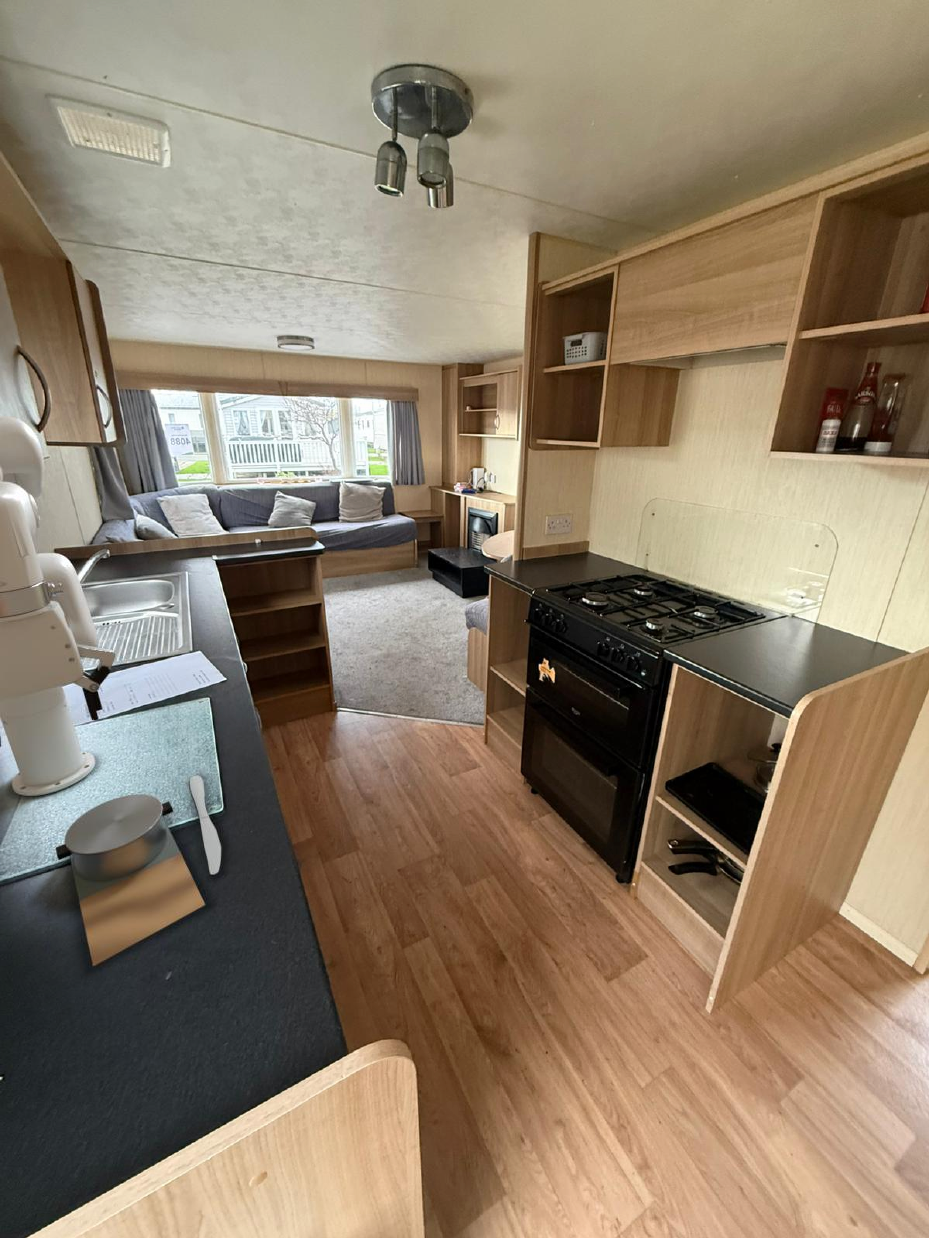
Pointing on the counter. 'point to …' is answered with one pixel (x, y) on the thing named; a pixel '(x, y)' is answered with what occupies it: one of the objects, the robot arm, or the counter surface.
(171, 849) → the gray square tile
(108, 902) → the trivet
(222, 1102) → the counter surface
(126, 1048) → the counter surface
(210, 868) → the butter knife
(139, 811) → the pot
